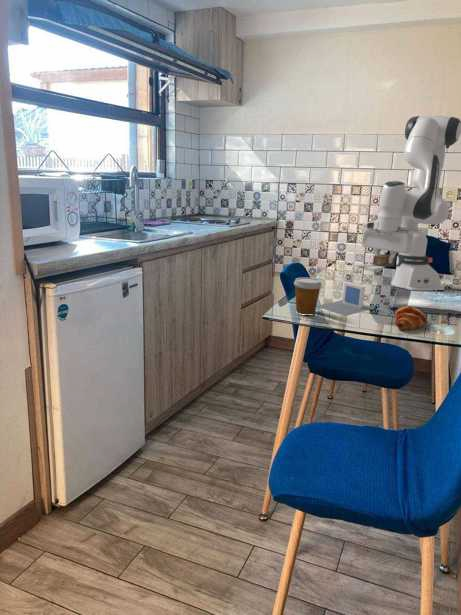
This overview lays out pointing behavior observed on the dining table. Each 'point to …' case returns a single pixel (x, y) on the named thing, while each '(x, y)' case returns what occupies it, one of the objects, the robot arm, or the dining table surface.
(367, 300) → the dining table surface
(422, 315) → the croissant
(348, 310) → the slate board
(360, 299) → the tile
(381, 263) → the wooden handled scraper
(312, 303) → the disposable coffee cup
